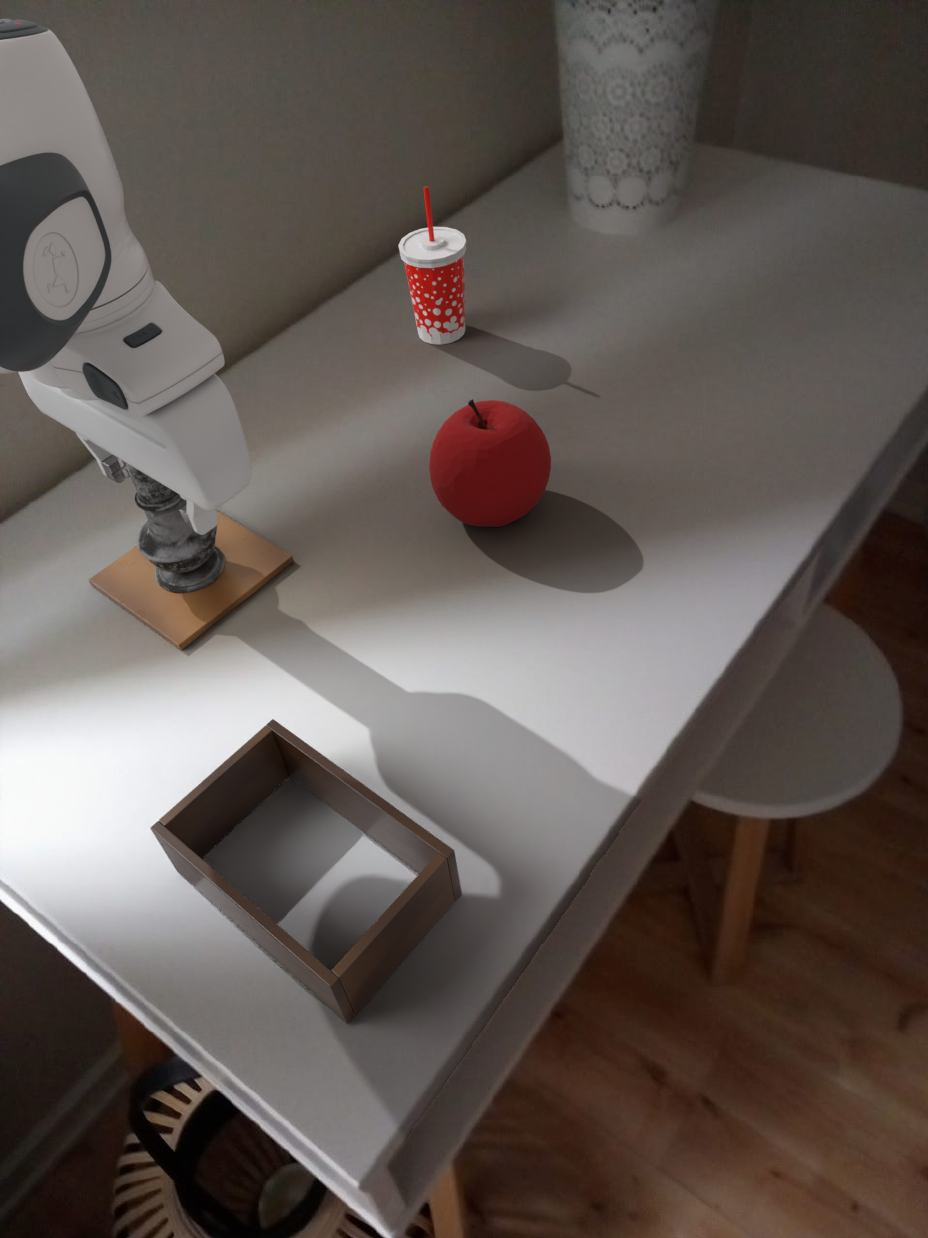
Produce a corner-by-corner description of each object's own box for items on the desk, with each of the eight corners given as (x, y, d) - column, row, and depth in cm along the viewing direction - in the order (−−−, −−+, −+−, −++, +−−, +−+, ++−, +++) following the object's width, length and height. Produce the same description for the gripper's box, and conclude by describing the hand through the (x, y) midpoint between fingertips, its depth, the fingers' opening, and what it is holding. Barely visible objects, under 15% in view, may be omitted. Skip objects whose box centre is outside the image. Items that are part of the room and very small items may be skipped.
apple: (494, 564, 72) (486, 457, 64) (410, 513, 76) (393, 407, 69) (574, 500, 76) (575, 392, 69) (490, 455, 80) (482, 349, 73)
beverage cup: (472, 347, 91) (460, 200, 81) (408, 350, 92) (388, 205, 82) (473, 312, 96) (462, 168, 85) (412, 316, 96) (393, 173, 86)
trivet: (181, 650, 69) (178, 645, 68) (90, 585, 74) (87, 579, 73) (294, 561, 74) (292, 555, 73) (202, 506, 79) (200, 500, 79)
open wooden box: (347, 1025, 50) (330, 987, 46) (176, 871, 57) (149, 827, 53) (462, 894, 55) (454, 850, 51) (290, 765, 61) (272, 718, 58)
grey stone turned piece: (241, 546, 74) (198, 417, 66) (208, 601, 71) (157, 473, 62) (173, 536, 76) (121, 409, 67) (137, 589, 72) (77, 462, 63)
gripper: (-47, 298, 61) (40, 470, 72) (150, 404, 52) (218, 586, 62) (38, 256, 64) (110, 426, 75) (239, 349, 55) (290, 531, 65)
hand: (160, 500), depth 68 cm, fingers open, 8 cm apart
